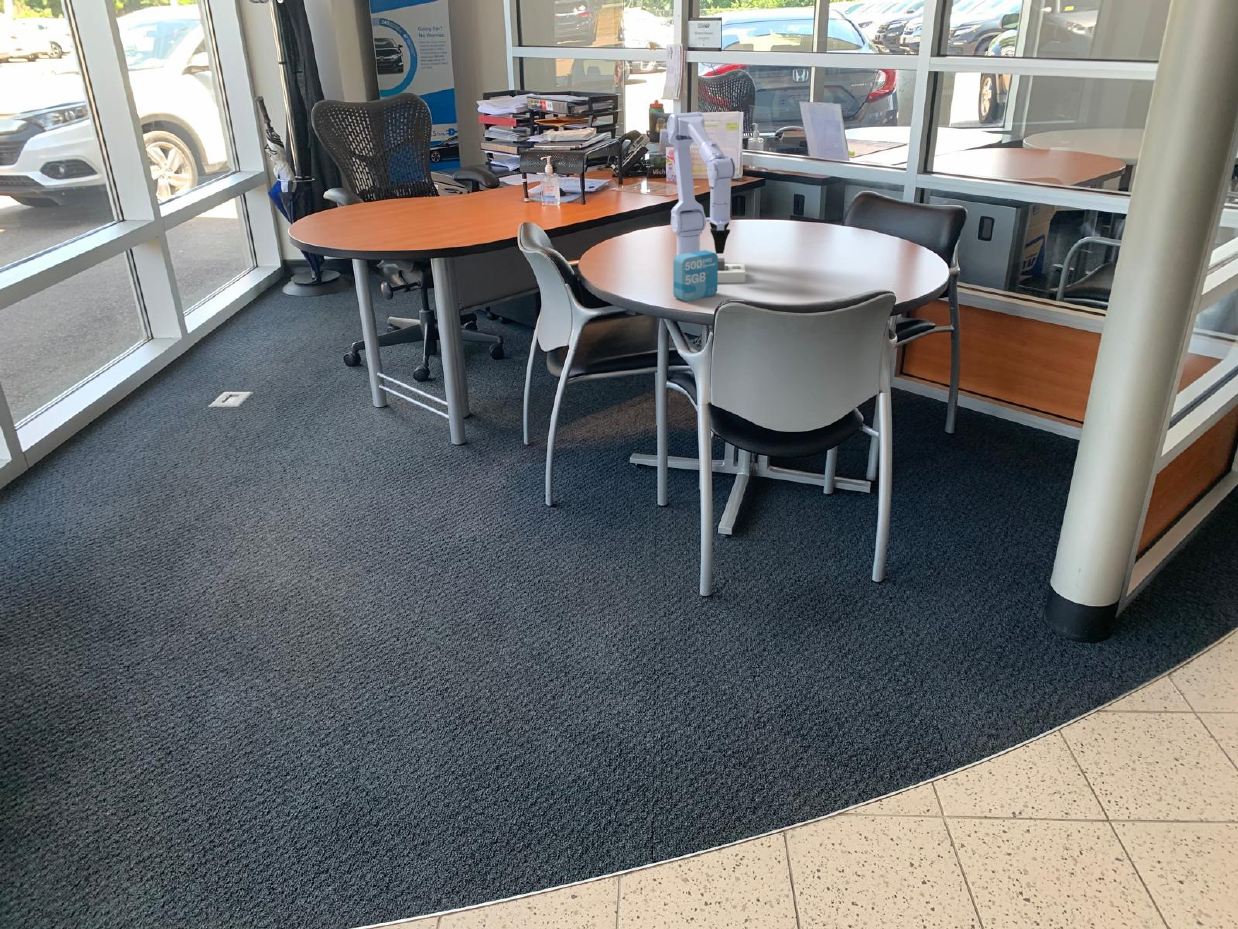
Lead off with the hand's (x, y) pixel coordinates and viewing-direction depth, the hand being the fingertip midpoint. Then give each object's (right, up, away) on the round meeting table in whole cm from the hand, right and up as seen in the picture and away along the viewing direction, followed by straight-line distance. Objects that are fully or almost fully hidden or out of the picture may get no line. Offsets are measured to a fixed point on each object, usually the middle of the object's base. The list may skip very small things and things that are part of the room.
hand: (719, 250), depth 265 cm
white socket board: (-1, -7, +4) cm, 8 cm away
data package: (-8, -16, -13) cm, 22 cm away
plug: (0, -7, +4) cm, 8 cm away
